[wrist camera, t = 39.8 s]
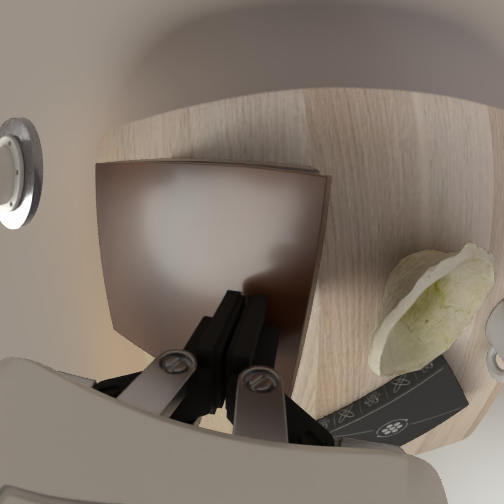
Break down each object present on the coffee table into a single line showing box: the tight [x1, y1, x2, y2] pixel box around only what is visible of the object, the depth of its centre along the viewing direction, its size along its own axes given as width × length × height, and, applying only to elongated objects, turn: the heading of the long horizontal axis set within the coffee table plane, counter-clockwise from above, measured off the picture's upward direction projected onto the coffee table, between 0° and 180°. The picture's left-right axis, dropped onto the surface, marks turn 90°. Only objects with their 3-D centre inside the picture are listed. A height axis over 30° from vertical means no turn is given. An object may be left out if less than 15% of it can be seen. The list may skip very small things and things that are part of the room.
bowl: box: [368, 241, 495, 377], centre depth 21 cm, size 15×14×10 cm
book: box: [317, 354, 469, 447], centre depth 30 cm, size 22×15×3 cm
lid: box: [96, 162, 332, 398], centre depth 14 cm, size 14×13×1 cm
